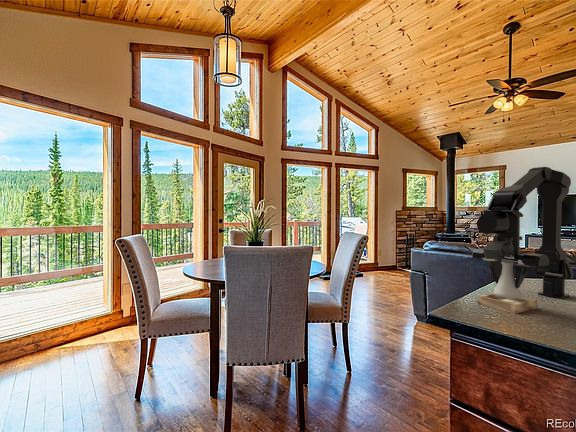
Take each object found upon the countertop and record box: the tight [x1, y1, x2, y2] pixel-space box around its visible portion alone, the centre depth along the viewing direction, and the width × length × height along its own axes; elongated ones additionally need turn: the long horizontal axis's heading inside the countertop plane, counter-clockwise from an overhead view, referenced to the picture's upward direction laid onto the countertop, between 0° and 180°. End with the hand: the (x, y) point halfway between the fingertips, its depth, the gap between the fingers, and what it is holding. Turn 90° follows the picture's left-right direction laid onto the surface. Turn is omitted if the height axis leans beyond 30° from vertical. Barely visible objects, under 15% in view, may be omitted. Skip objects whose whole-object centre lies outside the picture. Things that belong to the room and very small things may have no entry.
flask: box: [492, 260, 523, 299], centre depth 98 cm, size 7×7×10 cm
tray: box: [477, 292, 538, 314], centre depth 98 cm, size 11×10×2 cm
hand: (507, 285), depth 98 cm, fingers closed on flask, 5 cm apart
